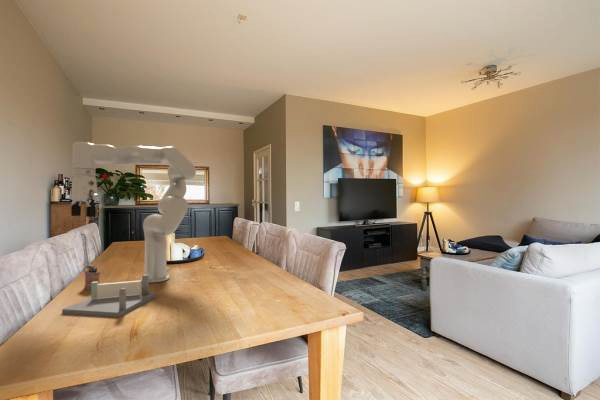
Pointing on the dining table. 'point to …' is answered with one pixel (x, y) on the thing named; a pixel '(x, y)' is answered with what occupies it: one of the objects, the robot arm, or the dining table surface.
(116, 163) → the robot arm
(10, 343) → the dining table surface
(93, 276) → the lighter
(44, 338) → the dining table surface
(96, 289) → the pale rectangular block
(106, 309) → the base
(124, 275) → the dining table surface
